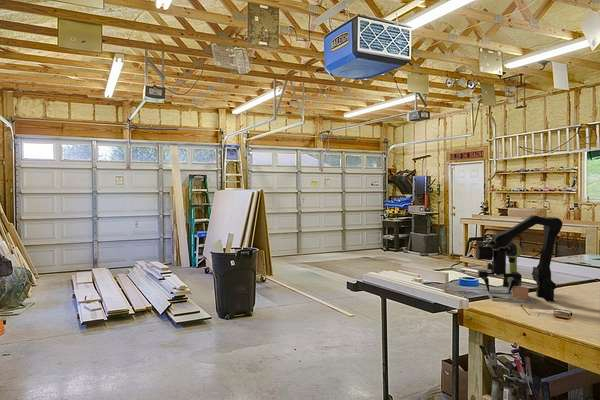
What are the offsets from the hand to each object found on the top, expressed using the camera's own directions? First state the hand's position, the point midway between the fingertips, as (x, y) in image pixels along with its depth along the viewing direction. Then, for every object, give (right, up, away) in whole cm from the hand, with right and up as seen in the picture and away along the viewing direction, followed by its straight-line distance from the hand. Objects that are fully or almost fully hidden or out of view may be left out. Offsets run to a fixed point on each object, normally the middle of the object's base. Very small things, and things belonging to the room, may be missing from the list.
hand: (498, 292), depth 209 cm
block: (+9, -1, -2) cm, 9 cm away
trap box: (+3, -3, -5) cm, 6 cm away
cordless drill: (+14, -3, +17) cm, 23 cm away
